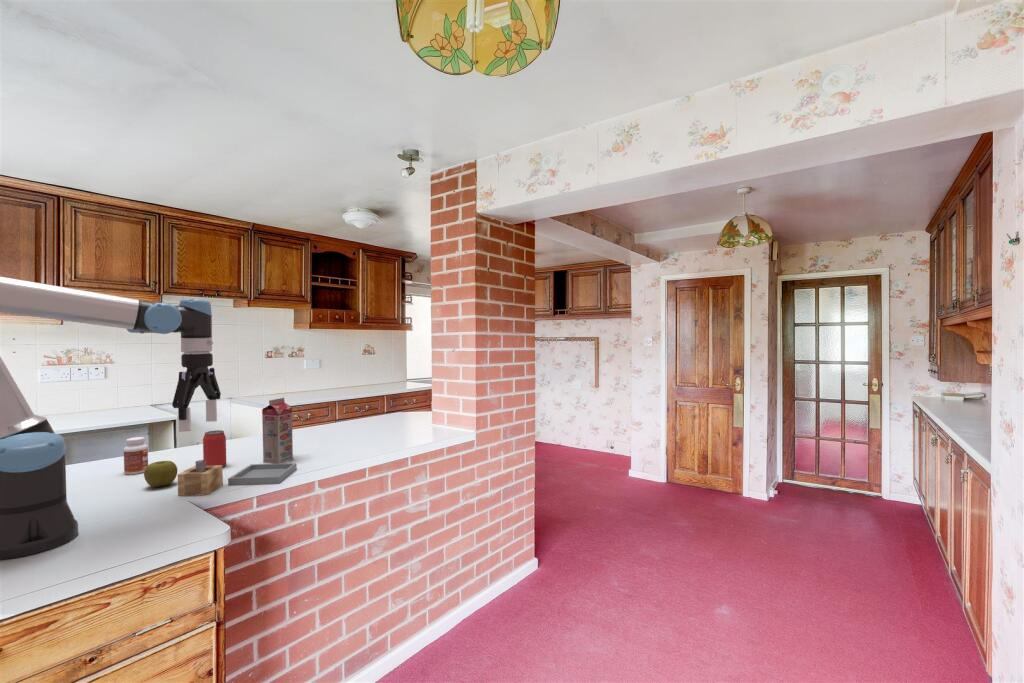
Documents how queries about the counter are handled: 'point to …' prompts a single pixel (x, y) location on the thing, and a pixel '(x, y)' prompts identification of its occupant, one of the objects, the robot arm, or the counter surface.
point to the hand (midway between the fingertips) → (198, 426)
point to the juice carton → (277, 432)
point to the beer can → (214, 448)
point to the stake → (200, 466)
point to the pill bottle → (135, 456)
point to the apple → (160, 473)
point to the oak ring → (200, 480)
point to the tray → (262, 474)
